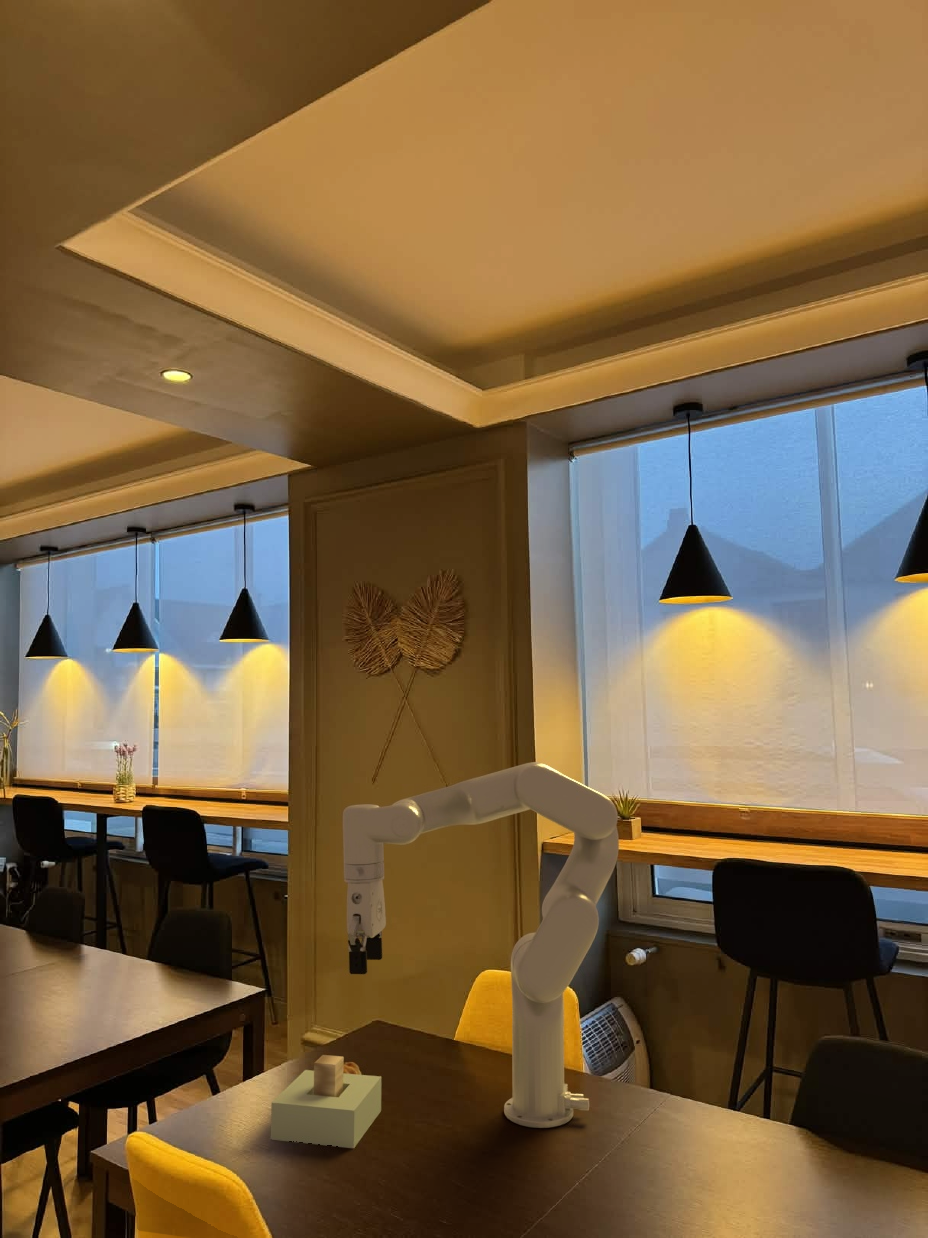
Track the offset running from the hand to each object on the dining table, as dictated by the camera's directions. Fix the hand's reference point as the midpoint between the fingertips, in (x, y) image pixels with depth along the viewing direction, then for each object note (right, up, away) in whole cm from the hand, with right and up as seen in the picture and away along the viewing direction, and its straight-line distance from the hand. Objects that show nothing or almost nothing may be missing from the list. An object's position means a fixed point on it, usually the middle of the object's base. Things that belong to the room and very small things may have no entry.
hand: (366, 966), depth 166 cm
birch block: (-6, -24, -7) cm, 26 cm away
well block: (-6, -25, -7) cm, 27 cm away
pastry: (-6, -28, +10) cm, 30 cm away
